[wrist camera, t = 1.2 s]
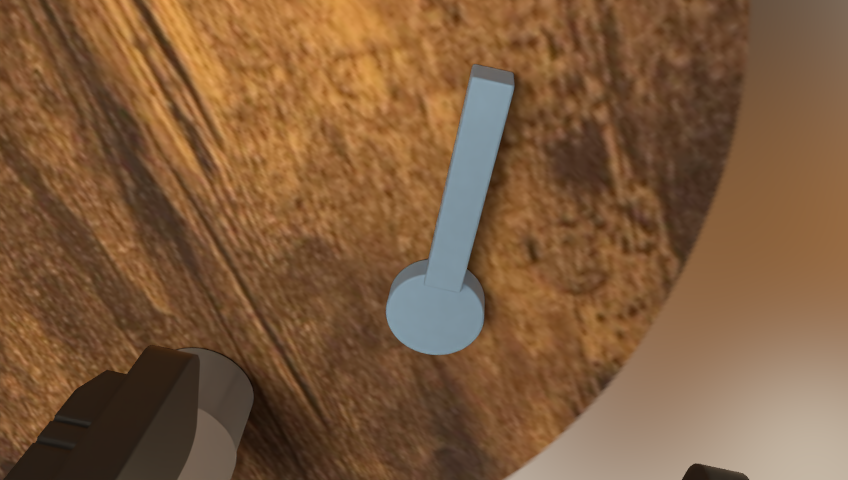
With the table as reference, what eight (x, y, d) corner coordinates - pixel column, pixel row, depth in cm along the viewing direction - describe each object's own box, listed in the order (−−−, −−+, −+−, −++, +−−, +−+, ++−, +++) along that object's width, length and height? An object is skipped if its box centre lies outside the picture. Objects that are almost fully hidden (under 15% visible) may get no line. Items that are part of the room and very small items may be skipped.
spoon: (437, 55, 23) (433, 68, 22) (549, 79, 23) (553, 94, 22) (382, 326, 29) (377, 350, 27) (472, 345, 29) (471, 370, 27)
